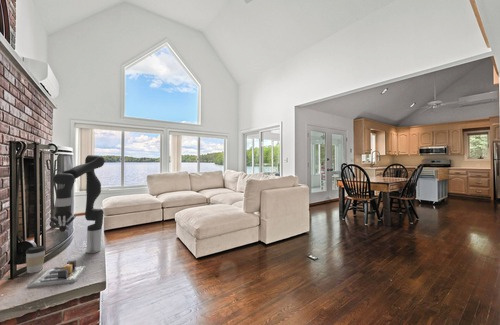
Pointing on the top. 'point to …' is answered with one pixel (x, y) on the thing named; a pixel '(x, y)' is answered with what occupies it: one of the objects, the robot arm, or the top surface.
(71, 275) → the breaker panel
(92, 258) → the top surface
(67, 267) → the toggle
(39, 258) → the coffee cup
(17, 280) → the top surface
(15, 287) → the top surface
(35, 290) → the top surface
